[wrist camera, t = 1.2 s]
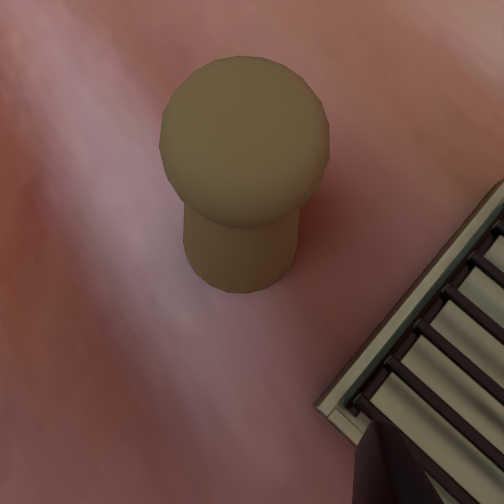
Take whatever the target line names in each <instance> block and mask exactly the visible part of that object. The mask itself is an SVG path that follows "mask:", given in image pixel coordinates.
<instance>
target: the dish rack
mask: <svg viewBox="0 0 504 504" xmlns="http://www.w3.org/2000/svg"><path fill="white" fill-rule="evenodd" d="M313 407H314V408H315V409H317V410H318V411H319V412H320V413H321V414H322V415H323V416H324V417H325V418H326V419H327V420H328V421H329V422H330V423H331V424H332V425H333V426H334V427H335V428H336V429H337V430H338V431H339V432H340V433H342V434H343V435H344V436H345V437H346V438H347V439H348V440H349V441H350V442H351V443H352V444H353V445H354V446H355V447H356V448H357V445H358V443H359V441H360V439H361V437H362V436H363V434H364V432H365V430H366V429H367V427H368V425H369V423H370V422H371V421H372V420H373V419H379V420H382V421H385V422H389V423H392V424H394V425H395V426H396V427H397V429H398V430H399V432H400V433H401V435H402V437H403V438H404V440H405V441H406V443H407V445H408V446H409V448H410V449H411V451H412V453H413V454H414V456H415V457H416V459H417V460H418V462H419V464H420V465H421V467H422V468H423V470H424V472H425V473H426V475H427V476H428V478H429V480H430V481H431V483H432V484H433V486H434V488H435V489H436V491H437V492H438V494H439V496H440V497H441V499H442V500H443V502H444V504H504V179H503V180H501V181H500V182H498V183H497V184H495V186H494V187H493V188H492V189H491V190H490V192H489V193H488V194H487V195H486V196H485V198H484V199H483V200H482V201H481V203H480V204H479V205H478V206H477V207H476V209H475V210H474V211H473V212H472V213H471V215H470V216H469V217H468V218H467V219H466V221H465V222H464V223H463V224H462V225H461V227H460V228H459V229H458V230H457V231H456V233H455V234H454V235H453V236H452V238H451V239H450V240H449V241H448V242H447V244H446V245H445V246H444V247H443V248H442V250H441V251H440V252H439V253H438V254H437V256H436V257H435V258H434V259H433V260H432V262H431V263H430V264H429V265H428V266H427V268H426V269H425V270H424V271H423V272H422V274H421V275H420V276H419V277H418V279H417V280H416V281H415V282H414V283H413V285H412V286H411V287H410V288H409V289H408V291H407V292H406V293H405V294H404V295H403V297H402V298H401V299H400V300H399V301H398V303H397V304H396V305H395V306H394V307H393V309H392V310H391V311H390V312H389V314H388V315H387V316H386V317H385V318H384V320H383V321H382V322H381V323H380V324H379V326H378V327H377V328H376V329H375V330H374V332H373V333H372V334H371V335H370V336H369V338H368V339H367V340H366V341H365V342H364V344H363V345H362V346H361V347H360V349H359V350H358V351H357V352H356V353H355V355H354V356H353V357H352V358H351V359H350V361H349V362H348V363H347V364H346V365H345V367H344V368H343V369H342V370H341V371H340V373H339V374H338V375H337V376H336V377H335V379H334V380H333V381H332V382H331V383H330V385H329V386H328V387H327V388H326V390H325V391H324V392H323V393H322V394H321V396H320V397H319V398H318V399H317V400H316V402H315V403H314V404H313Z"/></svg>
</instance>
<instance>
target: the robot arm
mask: <svg viewBox="0 0 504 504" xmlns="http://www.w3.org/2000/svg"><path fill="white" fill-rule="evenodd" d="M352 504H444V502H443V500H442V499H441V497H440V496H439V494H438V492H437V491H436V489H435V488H434V486H433V484H432V483H431V481H430V480H429V478H428V476H427V475H426V473H425V472H424V470H423V468H422V467H421V465H420V464H419V462H418V460H417V459H416V457H415V456H414V454H413V453H412V451H411V449H410V448H409V446H408V445H407V443H406V441H405V440H404V438H403V437H402V435H401V433H400V432H399V430H398V429H397V427H396V426H395V425H394V424H392V423H389V422H385V421H382V420H379V419H373V420H372V421H371V422H370V423H369V425H368V427H367V429H366V430H365V432H364V434H363V436H362V437H361V439H360V441H359V443H358V445H357V448H356V452H355V464H354V480H353V496H352Z"/></svg>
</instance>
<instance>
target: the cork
mask: <svg viewBox="0 0 504 504" xmlns="http://www.w3.org/2000/svg"><path fill="white" fill-rule="evenodd" d="M159 149H160V153H161V158H162V162H163V166H164V170H165V173H166V176H167V178H168V180H169V182H170V183H171V185H172V186H173V188H174V189H175V191H176V192H177V194H178V196H179V197H180V199H181V200H182V201H183V202H184V235H183V243H184V247H185V252H186V256H187V259H188V261H189V263H190V264H191V266H192V267H193V269H194V271H195V272H196V274H197V275H198V276H200V277H201V278H202V279H203V280H204V281H206V282H207V283H208V284H209V285H211V286H213V287H216V288H218V289H221V290H223V291H226V292H231V293H250V292H254V291H258V290H262V289H265V288H266V287H268V286H270V285H271V284H273V283H274V282H276V281H277V280H279V279H280V278H281V277H282V276H283V274H284V273H285V272H286V271H287V269H288V268H289V267H290V266H291V263H292V261H293V258H294V255H295V253H296V250H297V238H298V223H299V209H300V208H301V207H302V206H303V205H304V204H305V203H306V201H307V200H308V199H309V198H310V197H311V195H312V194H313V193H314V192H315V191H316V189H317V188H318V186H319V184H320V182H321V180H322V177H323V174H324V171H325V169H326V166H327V163H328V161H329V122H328V120H327V117H326V114H325V111H324V109H323V106H322V103H321V101H320V100H319V99H318V97H317V96H316V95H315V93H314V92H313V91H312V90H311V88H310V87H309V86H308V84H307V83H306V82H305V81H304V79H303V78H302V77H300V76H299V75H297V74H296V73H294V72H293V71H292V70H290V69H289V68H287V67H286V66H284V65H282V64H279V63H276V62H273V61H271V60H268V59H265V58H262V57H248V56H235V57H230V58H225V59H220V60H215V61H213V62H211V63H209V64H207V65H205V66H203V67H201V68H199V69H197V70H196V71H195V72H194V73H193V74H191V75H190V76H189V77H188V78H187V79H186V80H185V81H184V82H183V83H182V84H181V85H180V86H179V87H178V88H177V89H176V90H175V91H174V93H173V95H172V97H171V99H170V101H169V103H168V104H167V106H166V108H165V110H164V112H163V118H162V126H161V134H160V142H159Z"/></svg>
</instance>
